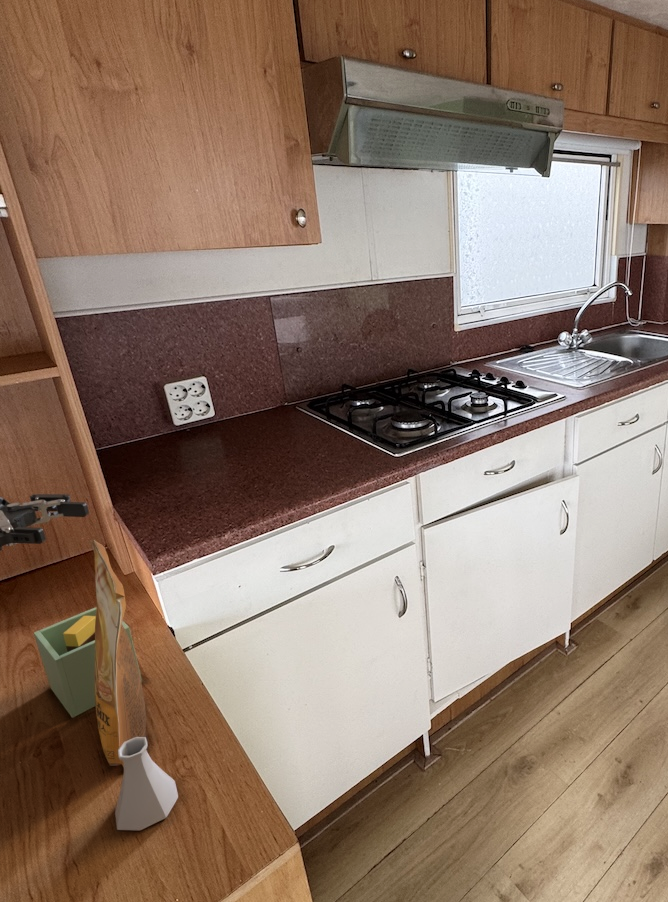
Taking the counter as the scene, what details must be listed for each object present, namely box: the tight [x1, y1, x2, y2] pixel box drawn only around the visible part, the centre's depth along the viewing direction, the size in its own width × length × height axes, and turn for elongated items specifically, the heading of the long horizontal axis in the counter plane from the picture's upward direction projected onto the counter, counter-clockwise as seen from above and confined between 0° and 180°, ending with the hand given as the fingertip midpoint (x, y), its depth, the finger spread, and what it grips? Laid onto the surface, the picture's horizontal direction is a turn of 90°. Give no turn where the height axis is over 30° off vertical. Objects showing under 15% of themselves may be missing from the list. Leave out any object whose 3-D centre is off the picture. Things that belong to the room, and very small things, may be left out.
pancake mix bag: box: [89, 539, 147, 769], centre depth 82 cm, size 7×19×28 cm, turn 34°
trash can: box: [33, 606, 143, 719], centre depth 93 cm, size 10×10×11 cm
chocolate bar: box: [63, 616, 96, 652], centre depth 92 cm, size 2×5×11 cm, turn 177°
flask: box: [114, 736, 179, 831], centre depth 73 cm, size 7×7×10 cm
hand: (65, 522), depth 86 cm, fingers open, 8 cm apart
